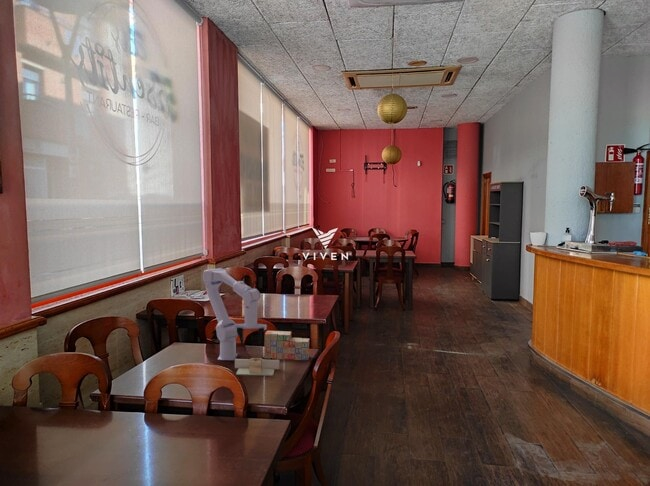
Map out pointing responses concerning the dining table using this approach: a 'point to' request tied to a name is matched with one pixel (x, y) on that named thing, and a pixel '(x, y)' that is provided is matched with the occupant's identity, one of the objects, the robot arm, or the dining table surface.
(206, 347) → the dining table surface
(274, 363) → the screen
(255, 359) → the letter cube
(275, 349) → the stack of blocks
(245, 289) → the robot arm
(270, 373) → the mat
